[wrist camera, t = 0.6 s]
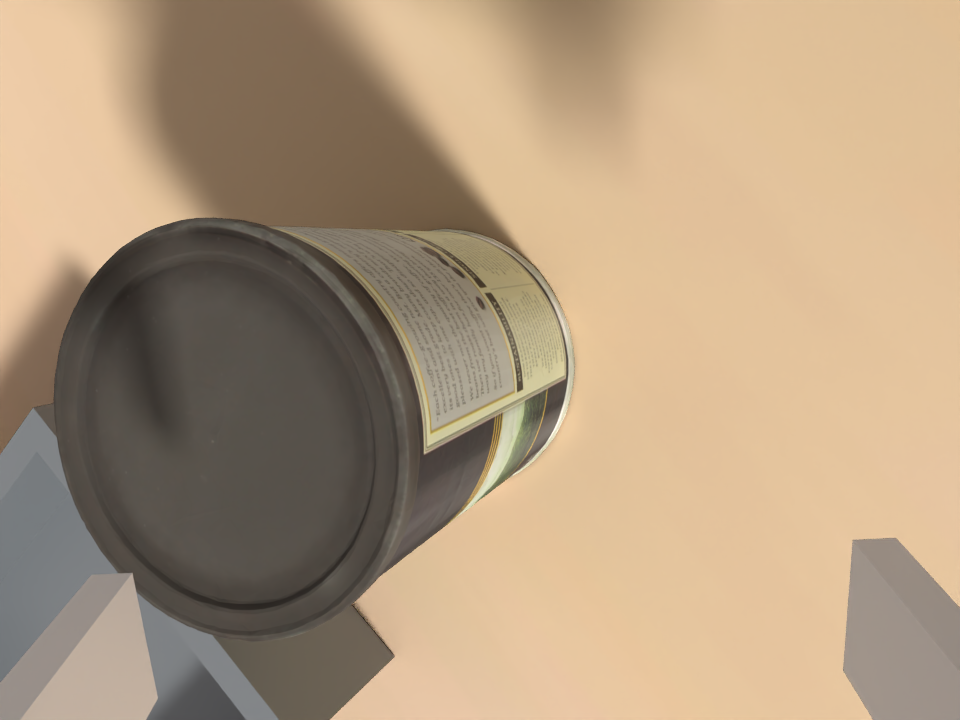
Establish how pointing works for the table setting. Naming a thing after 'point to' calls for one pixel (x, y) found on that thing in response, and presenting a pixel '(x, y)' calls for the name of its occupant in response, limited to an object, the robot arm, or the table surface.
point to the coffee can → (298, 408)
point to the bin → (171, 645)
